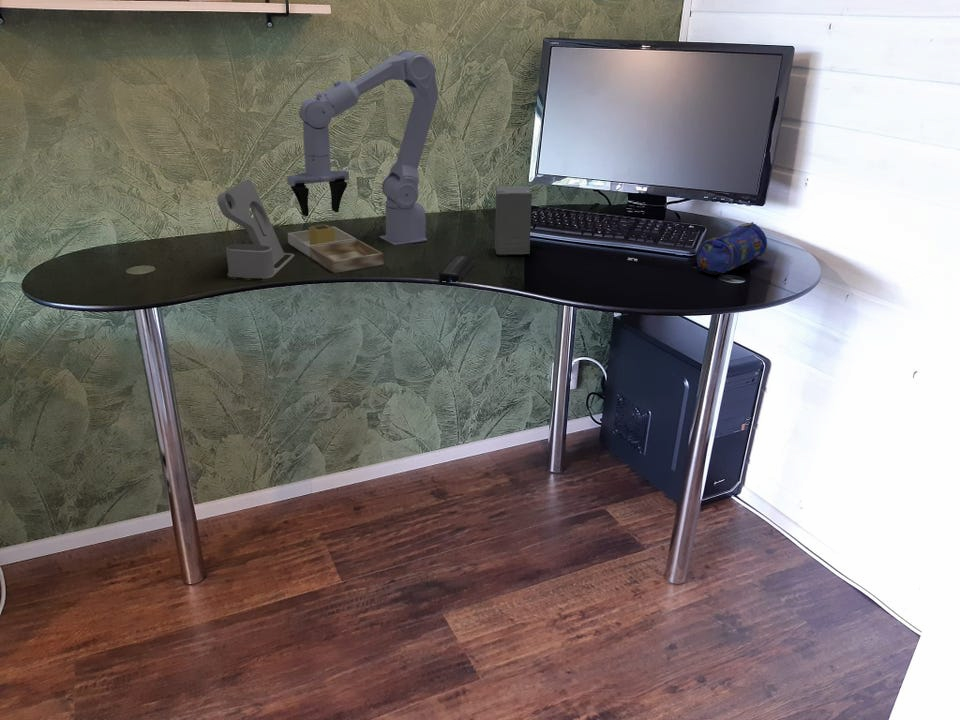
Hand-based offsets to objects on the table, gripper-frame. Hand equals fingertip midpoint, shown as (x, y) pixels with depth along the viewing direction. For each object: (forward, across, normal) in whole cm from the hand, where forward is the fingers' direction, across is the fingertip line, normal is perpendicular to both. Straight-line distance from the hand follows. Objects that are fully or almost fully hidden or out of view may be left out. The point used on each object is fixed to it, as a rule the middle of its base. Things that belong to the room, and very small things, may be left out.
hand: (320, 213), depth 181 cm
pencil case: (+9, +77, -59) cm, 98 cm away
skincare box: (+9, +38, -26) cm, 46 cm away
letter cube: (+8, 0, 0) cm, 8 cm away
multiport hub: (+9, +18, -31) cm, 37 cm away
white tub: (+8, 0, 0) cm, 9 cm away
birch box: (+8, 0, -13) cm, 16 cm away
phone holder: (+9, -17, -6) cm, 20 cm away
